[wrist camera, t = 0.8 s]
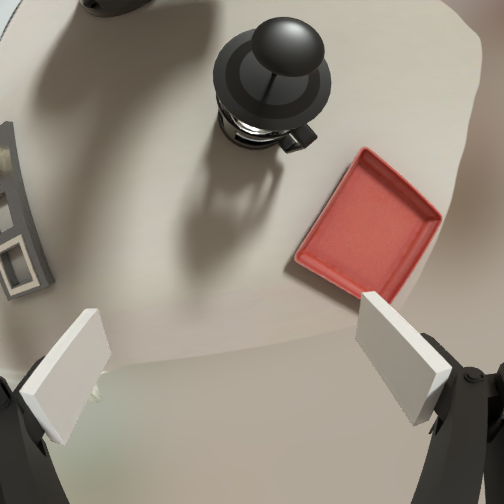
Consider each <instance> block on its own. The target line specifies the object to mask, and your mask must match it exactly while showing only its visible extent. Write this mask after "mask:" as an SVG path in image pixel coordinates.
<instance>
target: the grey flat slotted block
mask: <svg viewBox="0 0 504 504" xmlns="http://www.w3.org/2000/svg"><path fill="white" fill-rule="evenodd" d="M0 170H1V174H0V197H2V196H3V195H5V194H6V198H7V202H8V206H9V210H10V214H11V217H12V221H13V224H14V227H12V228H10V229H8V230H7V231H5V232H3V233H2V234H1V231H0V282H1V285H2V287H3V290H4V292H5V294H6V297H7V299H8V301H9V300H12V299H14V298H17V297H20V296H23V295H26V294H29V293H31V292H34V291H37V290H40V289H43V288H46V287H49V286H50V285H52V284H53V283H54V282H55V280H54V278H53V275H52V273H51V270H50V268H49V265H48V263H47V260H46V257H45V255H44V252H43V249H42V246H41V243H40V240H39V237H38V234H37V231H36V228H35V225H34V222H33V218H32V215H31V211H30V208H29V204H28V200H27V197H26V193H25V188H24V184H23V180H22V175H21V171H20V166H19V160H18V155H17V149H16V143H15V136H14V128H13V122H8V121H5V122H4V123H3V124H1V125H0ZM19 244H20V246H21V249H22V252H23V255H24V258H25V261H26V263H27V266H28V268H29V271H30V274H31V276H32V278H30V279H27V280H24V281H22V282H18V280H17V277H16V275H15V272H14V270H13V267H12V264H11V262H10V259H9V256H8V253H7V251H8V250H10V249H12V248H14V247H16V246H17V245H19Z"/></svg>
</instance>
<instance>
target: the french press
mask: <svg viewBox="0 0 504 504" xmlns="http://www.w3.org/2000/svg"><path fill="white" fill-rule="evenodd" d="M324 53H325V50H324V44H323V41H322V39H321V37H320V35H319V34H318V33H317V32H316V30H315V29H314V28H312V27H311V26H310V25H308V24H307V23H305V22H303V21H301V20H298V19H295V18H290V17H277V18H273V19H269V20H267V21H265V22H263V23H262V24H261V25H259V26H258V27H257V28H256V29H252V30H249V31H246V32H243V33H241V34H239V35H237V36H236V37H234V38H233V39H231V40H230V41H229V42H228V43H227V44H226V45H225V46H224V47H223V49H222V50H221V51H220V52H219V55H218V57H217V59H216V61H215V65H214V70H213V83H214V87H215V91H216V99H217V104H218V108H219V112H218V119H219V124H220V127H221V129H222V131H223V133H224V134H225V136H226V137H227V138H228V139H229V140H230V141H231V142H232V143H234V144H235V145H237V146H239V147H242V148H245V149H250V150H261V149H266V148H269V147H271V146H273V145H275V144H276V143H277V144H278V145H279V146H280V147H281V148H282V149H283V150H284V151H285V153H287V154H288V153H291V152H295V151H298V150H302V149H305V148H306V147H308V146H309V145H310V144H311V143H312V142H314V141H315V140H316V139H317V135H316V134H315V133H314V131H313V130H312V129H311V128H310V127H309V126H308V125H307V123H308V122H309V121H311V120H313V119H314V118H315V117H316V116H317V115H318V114H319V113H320V112H321V111H322V109H323V108H324V106H325V105H326V103H327V101H328V98H329V95H330V91H331V75H330V71H329V68H328V64H327V62H326V61H325V59H324ZM219 100H220V102H219ZM290 133H291V134H292V135H293V137H294V138H295V139H296V140H297V141H298V143H296V142H295V141H294V140H293V139H292V137H291V136H290V135H289V134H290Z"/></svg>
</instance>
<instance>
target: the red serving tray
mask: <svg viewBox="0 0 504 504" xmlns="http://www.w3.org/2000/svg"><path fill="white" fill-rule="evenodd" d="M441 222H442V215H441V214H440V213H439V212H438V211H437V209H436V208H435V207H434V206H433V205H432V204H431V203H430V202H429V201H428V200H427V199H426V198H425V197H424V196H423V195H422V194H421V193H420V192H419V191H418V190H417V189H415V188H414V187H413V186H412V185H411V184H410V183H409V182H408V181H407V180H406V179H405V178H403V177H402V176H401V175H400V174H399V173H398V172H397V171H396V170H394V169H393V168H392V167H391V166H390V165H389V164H388V163H387V162H385V161H384V160H383V159H382V158H380V157H379V156H378V155H377V154H376V153H374V152H373V151H372V150H371V149H369V148H368V147H365V146H364V147H362V148H361V149H360V150H359V152H358V154H357V155H356V157H355V159H354V160H353V162H352V164H351V165H350V167H349V169H348V170H347V172H346V174H345V175H344V177H343V179H342V180H341V182H340V183H339V185H338V187H337V188H336V190H335V192H334V193H333V195H332V197H331V198H330V200H329V201H328V203H327V205H326V206H325V208H324V209H323V211H322V213H321V214H320V216H319V217H318V219H317V221H316V222H315V224H314V225H313V227H312V228H311V230H310V231H309V233H308V234H307V236H306V238H305V239H304V241H303V242H302V244H301V245H300V247H299V248H298V250H297V251H296V253H295V255H294V260H295V262H297V263H298V264H300V265H302V266H304V267H305V268H307V269H308V270H310V271H312V272H314V273H315V274H317V275H319V276H320V277H322V278H324V279H326V280H327V281H329V282H331V283H333V284H334V285H336V286H338V287H339V288H341V289H343V290H344V291H346V292H347V293H349V294H351V295H353V296H354V297H356V298H358V299H360V300H361V293H363V292H371V291H375V292H376V293H377V294H378V295H380V296H381V297H382V298H383V299H384V300H385V301H386V302H387V303H388V304H389V305H391V303H392V302H393V300H394V299H395V297H396V296H397V294H398V293H399V291H400V290H401V289H402V287H403V286H404V284H405V283H406V281H407V279H408V278H409V276H410V275H411V273H412V272H413V270H414V269H415V267H416V265H417V264H418V262H419V261H420V259H421V257H422V256H423V254H424V252H425V251H426V249H427V247H428V246H429V244H430V242H431V240H432V239H433V237H434V235H435V234H436V232H437V230H438V228H439V226H440V225H441Z"/></svg>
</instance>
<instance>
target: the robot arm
mask: <svg viewBox="0 0 504 504" xmlns="http://www.w3.org/2000/svg"><path fill="white" fill-rule="evenodd" d="M79 1H80V3H81V5H82V6H83V7H84V8H85V9H86V10H87V11H88V12H89V13H90V14H92V15H95V16H99V17H111V16H117V15H121V14H124V13H127V12H130V11H132V10H134V9H136V8H138V7H140V6H142V5H144V4H146V3H147V2H149V1H150V0H79ZM355 339H356V341H357V342H358V343H359V345H360V346H361V348H362V349H363V351H364V352H365V354H366V355H367V357H368V358H369V360H370V361H371V362H372V364H373V366H374V367H375V369H376V370H377V372H378V373H379V375H380V376H381V378H382V379H383V381H384V382H385V384H386V385H387V387H388V388H389V390H390V391H391V393H392V394H393V396H394V397H395V399H396V401H397V402H398V403H399V405H400V407H401V408H402V410H403V412H404V413H405V414H406V416H407V418H408V419H409V421H410V422H411V424H412V425H413V426H416V425H418V424H421V423H424V422H426V421H428V420H429V418H430V417H431V415H432V413H433V411H435V412H436V414H437V415H438V417H437V419H436V421H435V423H434V424H433V426H432V428H431V430H430V432H429V434H431V433H432V431H433V433H432V438H431V442H430V445H429V449H428V453H427V456H426V460H425V463H424V467H423V470H422V473H421V476H420V479H419V482H418V485H417V488H416V491H415V493H414V496H413V499H412V501H411V504H478V500H479V494H480V489H481V484H482V477H483V472H484V482H485V498H486V504H504V363H502V364H501V365H500V367H499V369H498V371H497V373H495V374H488V375H485V374H484V373H483V372H482V371H481V370H479V369H478V368H474V367H464V368H463V367H462V366H461V365H460V364H459V363H458V362H457V361H456V360H455V359H454V358H453V357H452V356H451V355H450V354H449V353H448V352H447V351H445V349H444V348H443V347H442V346H441V345H440V344H439V343H438V342H437V341H436V340H435V339H434V338H433V337H431V336H429V335H427V334H425V333H421V334H419V333H418V332H417V331H416V330H415V329H414V328H413V327H412V326H411V325H410V324H409V323H408V322H407V321H406V320H405V319H404V318H403V317H402V316H400V315H399V313H397V312H396V311H395V310H394V309H393V308H392V307H391V306H390V305H389V304H388V303H387V302H386V301H385V300H384V299H383V298H382V297H381V296H380V295H378V294H377V293H376V292H375V291H371V292H363V293H361V301H360V310H359V317H358V324H357V331H356V338H355ZM111 354H112V353H111V350H110V347H109V344H108V341H107V338H106V334H105V331H104V328H103V324H102V321H101V317H100V314H99V310H98V309H85V310H84V311H83V312H82V313H81V314H80V316H79V317H78V318H77V319H76V320H75V321H74V323H73V324H72V325H71V326H70V327H69V328H68V330H67V331H66V332H65V333H64V334H63V336H62V337H61V338H60V339H59V340H58V342H57V343H56V344H55V345H54V347H53V348H52V349H51V350H50V352H49V353H48V354H47V355H46V356H43V357H42V358H41V359H39V360H38V361H36V363H35V364H34V365H33V366H32V368H31V370H29V371H28V373H27V374H26V376H25V377H24V378H23V379H22V381H21V382H20V383H19V385H18V386H17V387H16V389H15V390H14V391H13V393H12V391H11V389H10V387H9V386H8V384H7V382H6V380H5V379H4V378H3V377H1V376H0V504H70V503H69V501H68V499H67V497H66V495H65V492H64V490H63V488H62V486H61V483H60V481H59V478H58V476H57V474H56V471H55V468H54V466H53V463H52V460H51V458H50V455H49V452H48V449H47V446H46V443H45V442H44V440H43V439H42V437H43V435H44V433H46V434H47V436H48V437H49V438H50V440H51V441H52V442H56V443H59V444H63V445H67V442H68V440H69V438H70V436H71V433H72V431H73V429H74V427H75V425H76V422H77V421H78V418H79V416H80V414H81V412H82V410H83V408H84V406H85V404H86V402H87V400H88V398H89V396H90V394H91V392H92V390H93V388H94V386H95V384H96V382H97V380H98V378H99V376H100V374H101V372H102V370H103V369H104V367H105V365H106V363H107V361H108V359H109V357H110V355H111Z"/></svg>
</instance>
